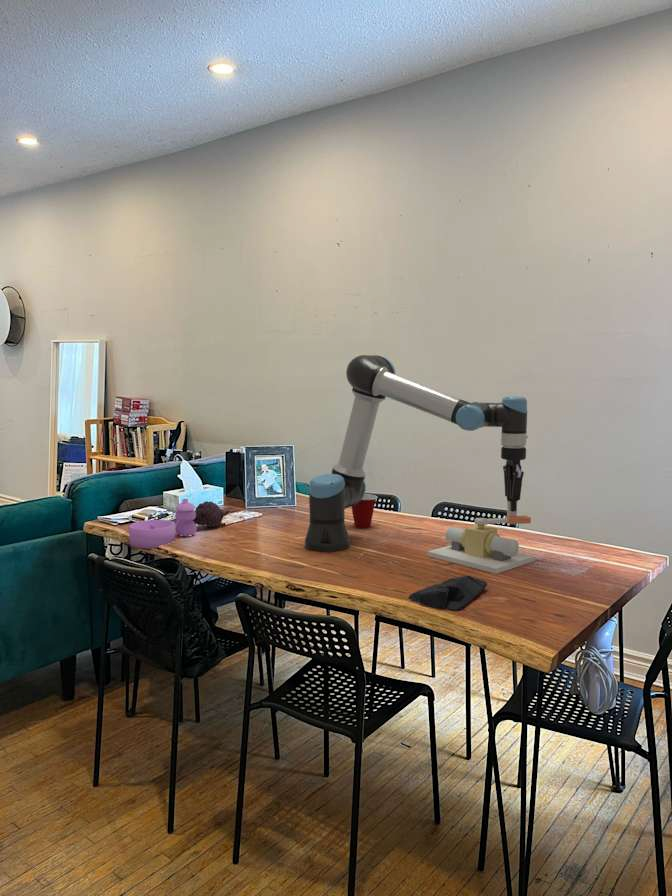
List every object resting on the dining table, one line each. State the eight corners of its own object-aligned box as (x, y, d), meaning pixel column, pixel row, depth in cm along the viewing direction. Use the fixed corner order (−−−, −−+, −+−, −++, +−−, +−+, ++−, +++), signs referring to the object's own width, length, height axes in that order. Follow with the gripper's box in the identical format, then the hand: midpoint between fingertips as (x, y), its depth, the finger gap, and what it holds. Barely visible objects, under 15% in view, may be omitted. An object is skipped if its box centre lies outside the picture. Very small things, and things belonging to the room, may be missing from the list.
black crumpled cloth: (497, 592, 185) (497, 575, 185) (455, 615, 168) (455, 596, 168) (447, 581, 195) (447, 565, 194) (402, 602, 178) (402, 584, 177)
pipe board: (496, 573, 200) (496, 536, 199) (427, 556, 219) (427, 522, 218) (535, 560, 213) (536, 526, 212) (467, 545, 233) (467, 513, 231)
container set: (145, 550, 229) (143, 511, 227) (121, 543, 239) (119, 505, 238) (207, 537, 247) (206, 500, 245) (182, 530, 257) (181, 495, 256)
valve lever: (477, 526, 213) (477, 520, 213) (472, 523, 217) (472, 517, 217) (531, 523, 216) (531, 517, 216) (525, 520, 220) (525, 515, 220)
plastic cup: (378, 529, 256) (378, 497, 255) (348, 529, 256) (348, 497, 255) (377, 523, 267) (377, 492, 265) (348, 523, 267) (348, 492, 266)
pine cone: (196, 534, 251) (195, 506, 250) (180, 529, 258) (179, 503, 257) (235, 525, 264) (234, 499, 263) (219, 522, 271) (218, 496, 270)
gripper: (532, 448, 210) (530, 525, 213) (518, 443, 223) (516, 516, 226) (508, 449, 210) (506, 525, 213) (495, 444, 223) (494, 516, 226)
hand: (511, 520), depth 219 cm, fingers closed
